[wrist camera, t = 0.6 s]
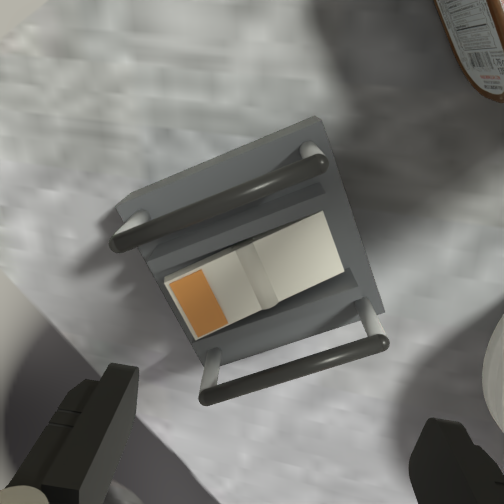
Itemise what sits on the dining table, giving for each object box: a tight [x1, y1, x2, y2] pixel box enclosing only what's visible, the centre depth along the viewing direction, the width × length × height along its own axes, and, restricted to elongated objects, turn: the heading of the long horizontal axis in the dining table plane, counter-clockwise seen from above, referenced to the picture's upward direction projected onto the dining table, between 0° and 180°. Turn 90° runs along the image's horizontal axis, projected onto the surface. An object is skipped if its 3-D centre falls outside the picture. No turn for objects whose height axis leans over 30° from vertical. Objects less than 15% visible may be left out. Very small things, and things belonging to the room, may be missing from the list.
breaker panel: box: [109, 116, 390, 406], centre depth 31 cm, size 16×16×10 cm
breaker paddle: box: [164, 210, 344, 340], centre depth 29 cm, size 12×5×2 cm, turn 112°
